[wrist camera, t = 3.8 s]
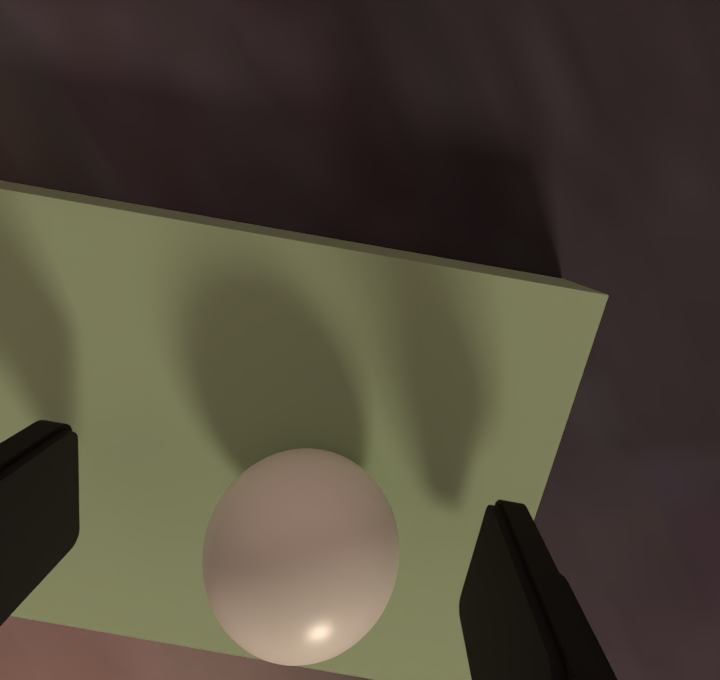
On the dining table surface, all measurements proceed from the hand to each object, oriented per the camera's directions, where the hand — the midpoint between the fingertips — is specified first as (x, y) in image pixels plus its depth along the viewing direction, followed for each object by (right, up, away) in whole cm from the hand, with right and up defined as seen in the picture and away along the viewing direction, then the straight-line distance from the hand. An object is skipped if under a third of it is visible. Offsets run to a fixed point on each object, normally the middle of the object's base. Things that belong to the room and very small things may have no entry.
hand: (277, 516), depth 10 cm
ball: (+1, 0, -1) cm, 1 cm away
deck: (-5, +2, +4) cm, 6 cm away
